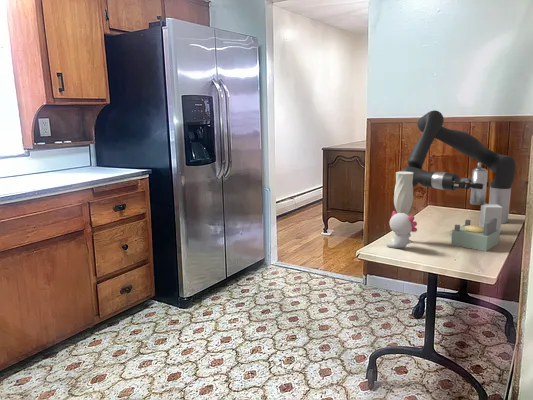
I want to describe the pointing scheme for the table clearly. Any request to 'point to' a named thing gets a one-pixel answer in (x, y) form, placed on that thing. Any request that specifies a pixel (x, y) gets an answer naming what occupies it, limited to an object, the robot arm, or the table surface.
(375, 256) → the table surface
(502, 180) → the robot arm
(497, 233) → the green and yellow block
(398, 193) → the vase
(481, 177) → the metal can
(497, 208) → the supplement box
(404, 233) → the toy
